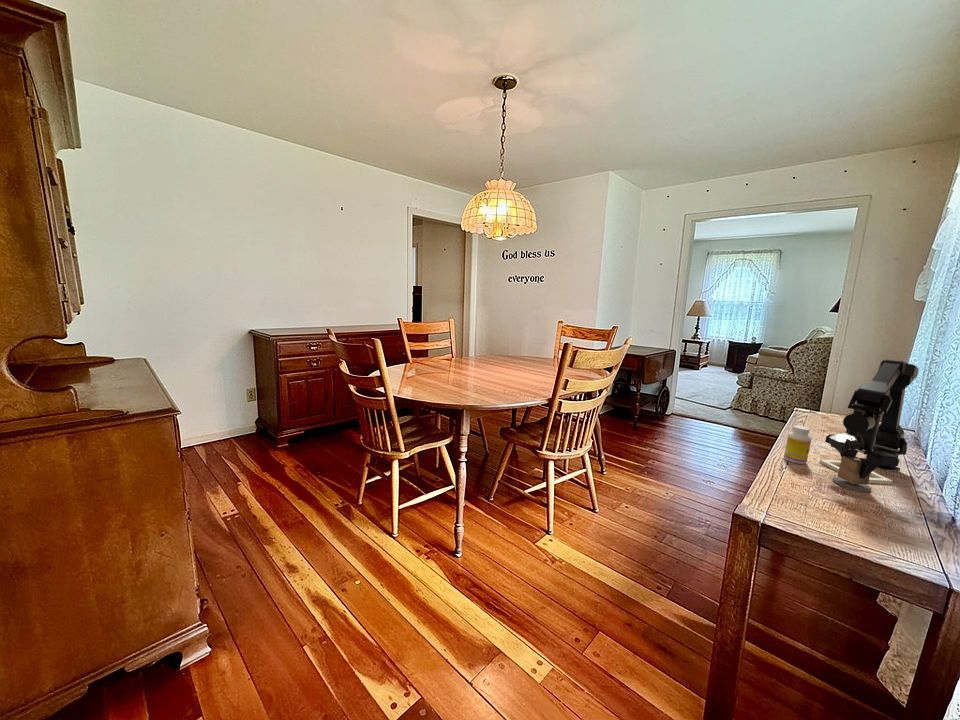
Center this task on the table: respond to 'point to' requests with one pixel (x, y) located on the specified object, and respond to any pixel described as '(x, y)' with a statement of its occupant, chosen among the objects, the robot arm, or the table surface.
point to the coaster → (851, 485)
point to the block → (851, 470)
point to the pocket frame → (876, 477)
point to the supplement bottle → (798, 445)
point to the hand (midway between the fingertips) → (853, 474)
